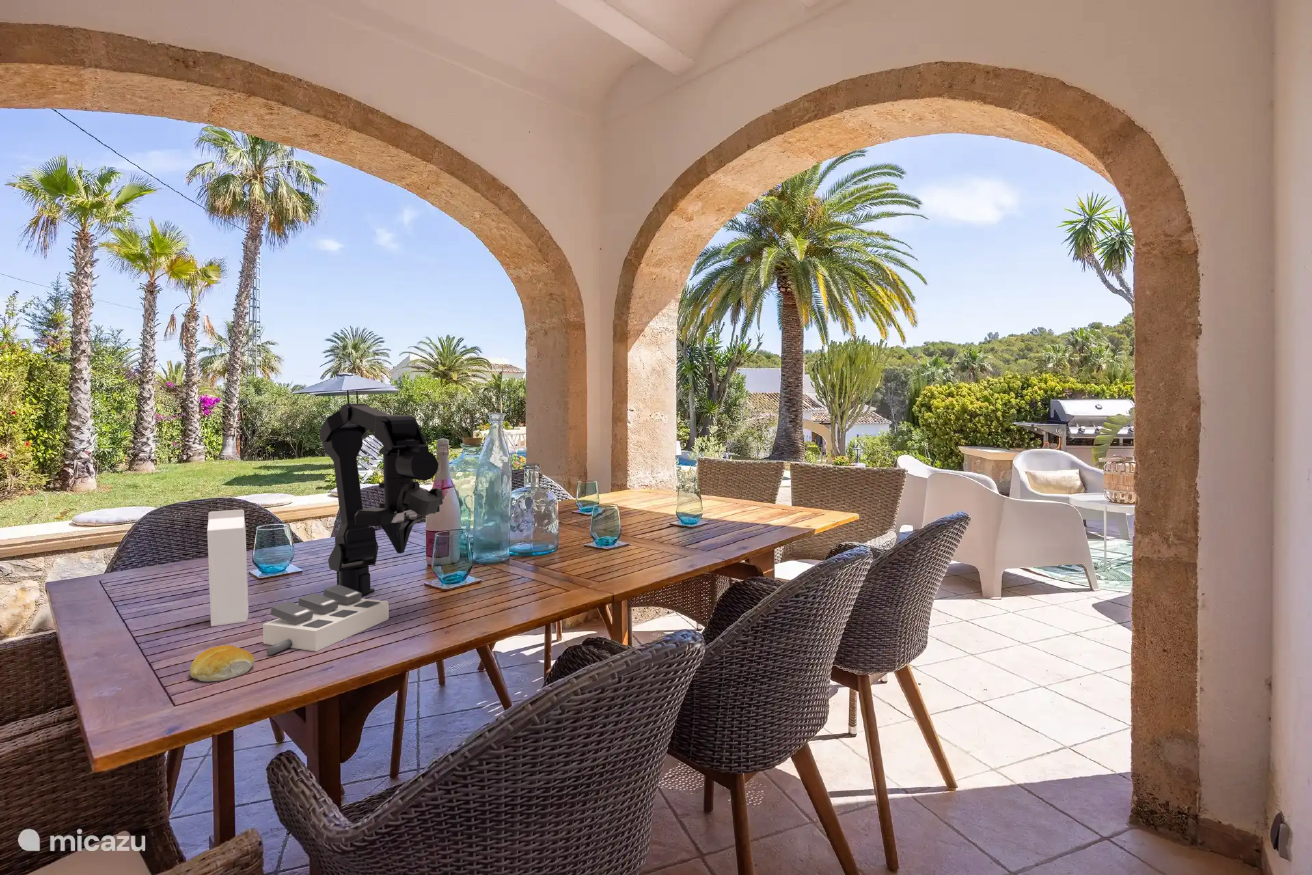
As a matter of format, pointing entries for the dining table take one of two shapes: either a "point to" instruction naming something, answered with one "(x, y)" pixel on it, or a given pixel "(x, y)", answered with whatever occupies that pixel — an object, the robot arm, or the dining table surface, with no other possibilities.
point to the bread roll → (221, 663)
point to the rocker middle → (318, 603)
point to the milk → (227, 567)
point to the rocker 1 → (291, 612)
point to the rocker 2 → (342, 594)
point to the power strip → (324, 626)
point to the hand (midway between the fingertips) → (400, 553)
